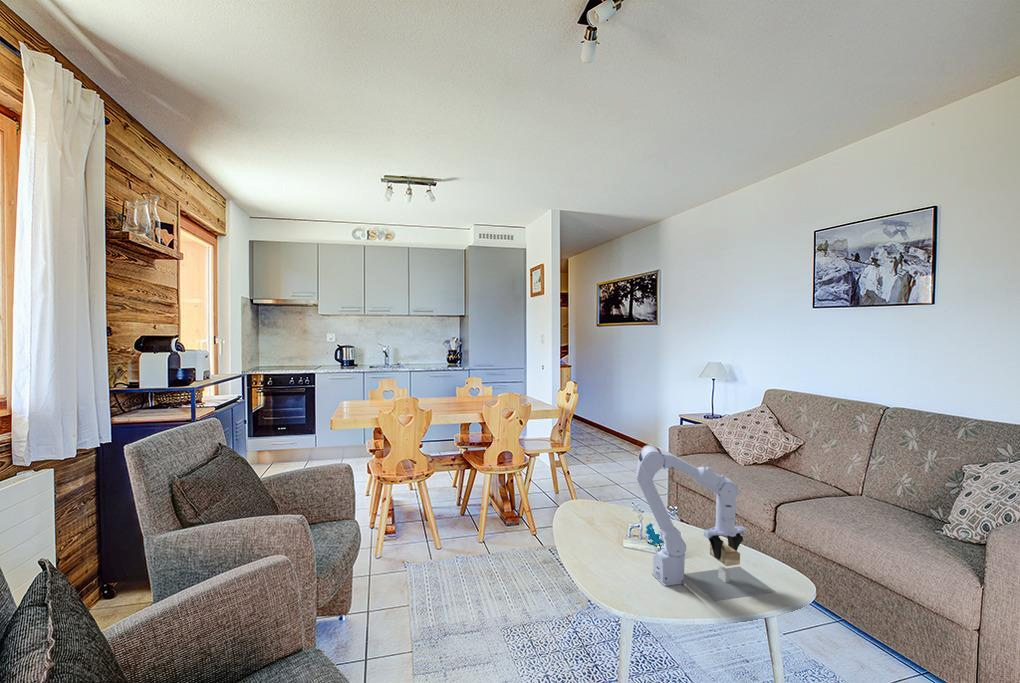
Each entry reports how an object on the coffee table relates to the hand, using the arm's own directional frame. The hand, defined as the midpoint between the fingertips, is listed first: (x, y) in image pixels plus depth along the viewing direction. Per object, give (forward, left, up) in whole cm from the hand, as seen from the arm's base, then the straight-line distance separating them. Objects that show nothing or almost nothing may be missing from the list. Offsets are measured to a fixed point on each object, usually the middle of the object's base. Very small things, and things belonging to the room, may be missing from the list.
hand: (724, 557), depth 154 cm
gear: (-7, +28, -9) cm, 31 cm away
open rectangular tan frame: (0, 0, -1) cm, 1 cm away
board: (0, -2, -8) cm, 9 cm away
